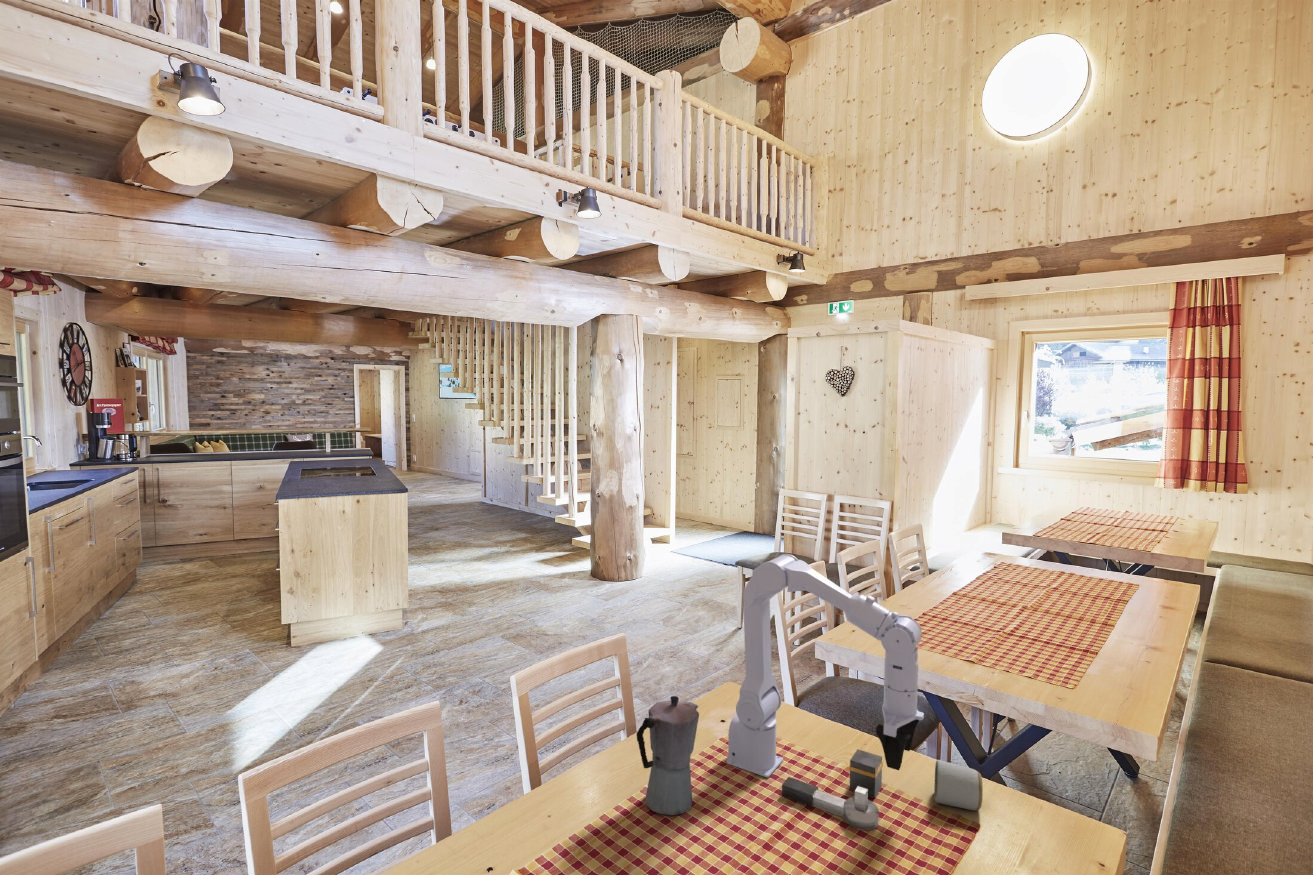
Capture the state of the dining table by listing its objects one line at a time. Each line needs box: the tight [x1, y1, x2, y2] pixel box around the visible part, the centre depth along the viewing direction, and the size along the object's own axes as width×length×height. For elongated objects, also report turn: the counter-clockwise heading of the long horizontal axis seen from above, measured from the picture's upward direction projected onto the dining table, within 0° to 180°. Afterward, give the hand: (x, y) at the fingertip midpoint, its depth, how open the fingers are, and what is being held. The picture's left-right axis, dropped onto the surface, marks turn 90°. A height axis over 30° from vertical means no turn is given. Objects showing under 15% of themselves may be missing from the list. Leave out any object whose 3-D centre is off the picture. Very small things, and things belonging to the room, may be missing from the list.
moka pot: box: [636, 695, 700, 816], centre depth 118 cm, size 10×15×20 cm, turn 137°
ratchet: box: [781, 776, 880, 831], centre depth 118 cm, size 18×6×5 cm, turn 56°
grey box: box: [848, 748, 884, 800], centre depth 124 cm, size 5×5×6 cm
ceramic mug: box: [933, 759, 984, 811], centre depth 121 cm, size 10×8×7 cm
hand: (898, 758), depth 117 cm, fingers open, 7 cm apart
